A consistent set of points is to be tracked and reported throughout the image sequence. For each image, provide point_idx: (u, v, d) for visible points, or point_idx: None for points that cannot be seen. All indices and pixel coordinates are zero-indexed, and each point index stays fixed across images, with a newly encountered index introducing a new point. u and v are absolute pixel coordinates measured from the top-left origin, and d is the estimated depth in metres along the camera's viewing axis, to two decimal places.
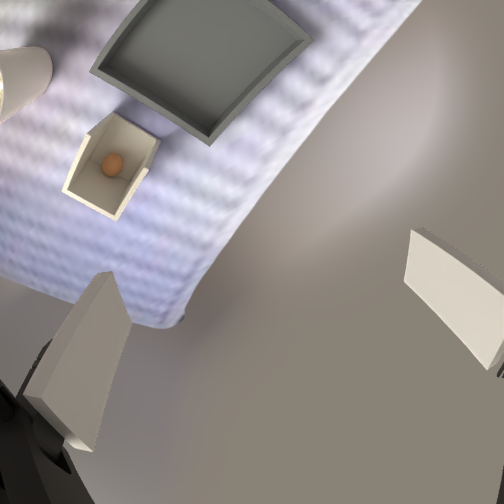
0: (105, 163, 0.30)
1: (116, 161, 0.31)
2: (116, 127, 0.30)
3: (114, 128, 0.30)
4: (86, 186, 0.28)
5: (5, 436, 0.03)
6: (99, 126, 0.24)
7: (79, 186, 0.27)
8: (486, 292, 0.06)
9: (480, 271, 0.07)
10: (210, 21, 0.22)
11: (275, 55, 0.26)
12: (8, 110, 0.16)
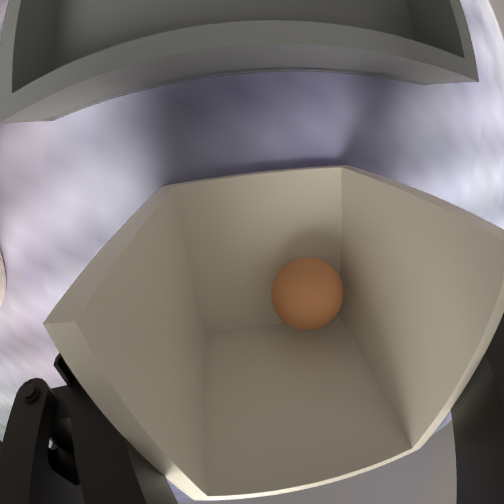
0: (322, 283, 0.10)
1: (318, 259, 0.11)
2: (208, 213, 0.11)
3: (204, 222, 0.11)
4: (258, 433, 0.08)
5: (85, 405, 0.05)
6: (127, 235, 0.05)
7: (238, 452, 0.07)
8: None
9: None
10: None
11: None
12: None
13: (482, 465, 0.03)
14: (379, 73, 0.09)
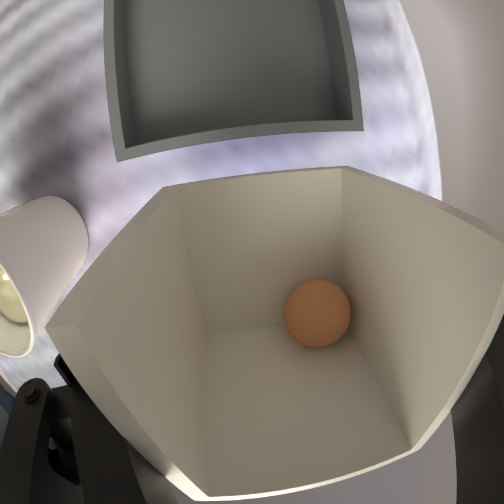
0: (339, 327, 0.10)
1: (330, 293, 0.11)
2: (208, 215, 0.11)
3: (204, 223, 0.11)
4: (259, 434, 0.08)
5: (85, 405, 0.05)
6: (128, 238, 0.05)
7: (238, 453, 0.07)
8: None
9: None
10: (210, 7, 0.15)
11: None
12: (35, 288, 0.13)
13: (482, 465, 0.03)
14: None
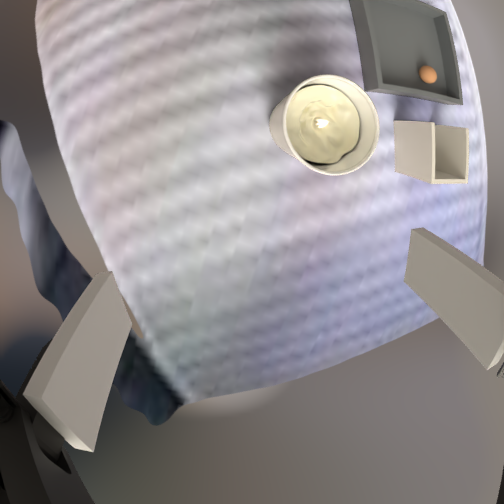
0: None
1: (430, 83, 0.29)
2: None
3: None
4: None
5: (5, 436, 0.03)
6: (419, 121, 0.28)
7: None
8: (486, 292, 0.06)
9: (480, 271, 0.07)
10: (398, 28, 0.27)
11: (435, 32, 0.26)
12: (370, 128, 0.25)
13: None
14: (438, 101, 0.32)
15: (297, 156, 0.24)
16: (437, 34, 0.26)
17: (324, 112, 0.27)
